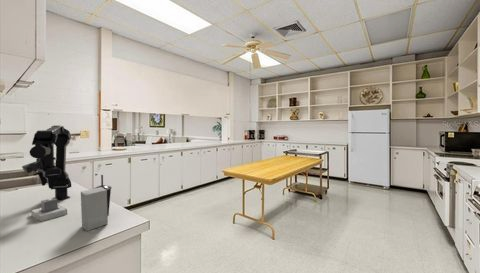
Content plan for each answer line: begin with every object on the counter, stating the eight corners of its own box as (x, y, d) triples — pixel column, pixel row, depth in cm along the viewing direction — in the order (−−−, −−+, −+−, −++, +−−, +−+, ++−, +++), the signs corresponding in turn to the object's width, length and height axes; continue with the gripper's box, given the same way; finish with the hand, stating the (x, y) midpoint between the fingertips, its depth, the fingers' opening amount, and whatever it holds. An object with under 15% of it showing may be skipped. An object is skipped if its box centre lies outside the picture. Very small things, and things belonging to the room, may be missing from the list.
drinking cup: (89, 217, 102) (88, 175, 101) (105, 212, 109) (105, 172, 108) (98, 221, 98) (98, 177, 97) (115, 215, 105) (114, 174, 104)
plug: (41, 215, 104) (41, 200, 103) (54, 211, 108) (54, 197, 107) (44, 217, 101) (44, 201, 101) (57, 213, 106) (57, 198, 105)
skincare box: (102, 220, 99) (102, 186, 98) (108, 225, 94) (108, 189, 94) (80, 227, 92) (79, 190, 92) (85, 232, 88) (85, 193, 87)
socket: (31, 215, 103) (31, 209, 103) (57, 209, 112) (57, 203, 112) (40, 221, 97) (40, 214, 97) (67, 214, 106) (67, 207, 105)
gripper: (17, 156, 106) (18, 187, 106) (30, 159, 96) (31, 194, 96) (47, 153, 115) (47, 182, 116) (61, 156, 105) (62, 188, 106)
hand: (47, 186), depth 108 cm, fingers open, 9 cm apart
